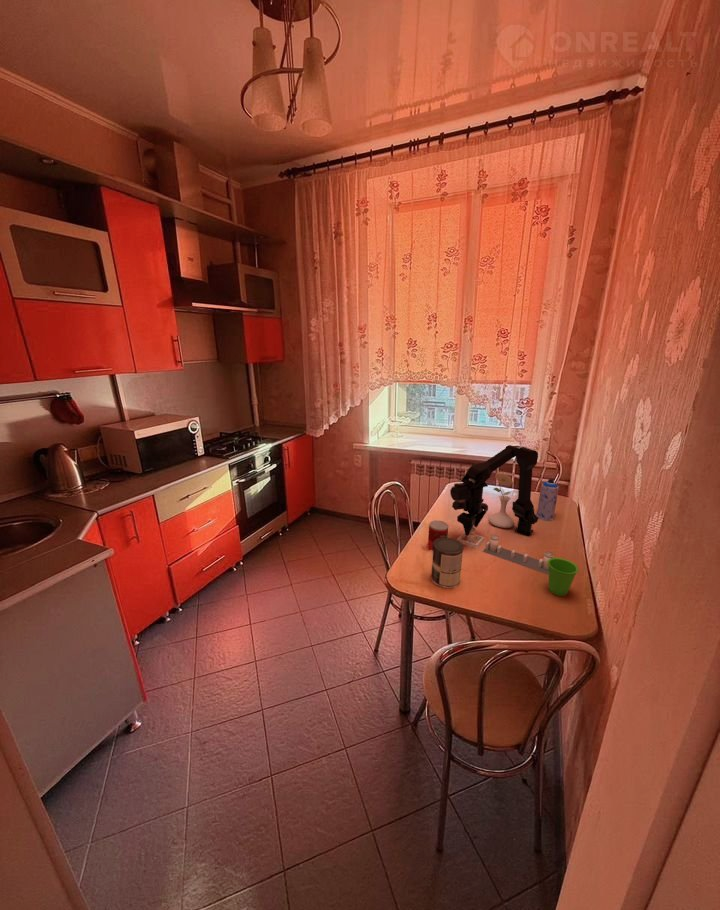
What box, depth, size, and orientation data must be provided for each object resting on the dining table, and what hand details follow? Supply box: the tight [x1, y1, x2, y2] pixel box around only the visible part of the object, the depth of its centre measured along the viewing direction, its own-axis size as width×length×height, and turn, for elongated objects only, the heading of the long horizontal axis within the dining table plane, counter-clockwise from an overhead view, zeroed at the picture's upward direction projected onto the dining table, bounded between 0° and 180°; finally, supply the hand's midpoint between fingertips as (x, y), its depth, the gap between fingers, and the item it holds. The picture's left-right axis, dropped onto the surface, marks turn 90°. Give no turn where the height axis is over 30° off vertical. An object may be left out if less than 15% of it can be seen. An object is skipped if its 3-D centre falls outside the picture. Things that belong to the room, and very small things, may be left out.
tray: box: [456, 531, 485, 549], centre depth 152 cm, size 9×9×2 cm
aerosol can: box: [535, 478, 560, 522], centre depth 174 cm, size 8×8×20 cm
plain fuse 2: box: [542, 551, 555, 571], centre depth 133 cm, size 3×3×6 cm
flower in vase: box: [488, 471, 515, 529], centre depth 166 cm, size 13×11×25 cm
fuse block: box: [481, 541, 549, 576], centre depth 140 cm, size 8×26×3 cm, turn 51°
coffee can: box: [430, 537, 465, 589], centre depth 126 cm, size 10×10×14 cm
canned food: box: [427, 519, 449, 551], centre depth 147 cm, size 8×8×11 cm
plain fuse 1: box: [489, 534, 500, 552], centre depth 145 cm, size 3×3×6 cm
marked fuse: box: [466, 526, 477, 544], centre depth 152 cm, size 3×3×6 cm
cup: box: [547, 557, 579, 597], centre depth 120 cm, size 9×9×11 cm
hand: (471, 531), depth 151 cm, fingers open, 9 cm apart
